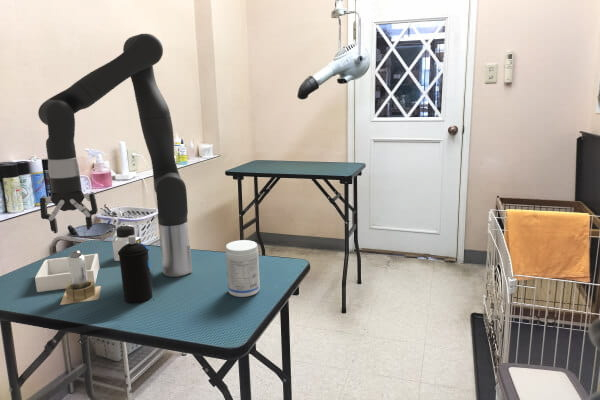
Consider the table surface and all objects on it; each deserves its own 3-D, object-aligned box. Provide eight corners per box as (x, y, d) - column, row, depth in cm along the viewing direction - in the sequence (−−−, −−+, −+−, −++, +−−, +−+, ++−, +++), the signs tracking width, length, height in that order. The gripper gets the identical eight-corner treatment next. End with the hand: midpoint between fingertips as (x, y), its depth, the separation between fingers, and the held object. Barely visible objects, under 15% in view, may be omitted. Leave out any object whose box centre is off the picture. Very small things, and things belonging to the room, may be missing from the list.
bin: (99, 270, 163) (97, 253, 161) (95, 288, 148) (93, 270, 147) (47, 276, 158) (45, 259, 157) (37, 296, 143) (34, 277, 142)
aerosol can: (137, 311, 132) (129, 242, 128) (117, 305, 137) (109, 238, 132) (160, 300, 139) (153, 234, 134) (141, 294, 143) (133, 230, 139)
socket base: (101, 290, 147) (100, 276, 146) (99, 304, 137) (97, 289, 136) (66, 295, 144) (64, 281, 143) (60, 309, 135) (58, 294, 134)
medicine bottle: (132, 262, 170) (128, 229, 167) (114, 261, 171) (110, 229, 168) (142, 255, 176) (139, 223, 174) (125, 254, 178) (121, 223, 175)
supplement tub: (230, 284, 149) (227, 239, 145) (261, 284, 148) (259, 239, 145) (225, 298, 139) (222, 250, 136) (258, 298, 139) (256, 250, 135)
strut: (90, 290, 143) (84, 246, 140) (89, 296, 139) (83, 251, 136) (74, 292, 142) (67, 248, 138) (71, 299, 138) (65, 253, 134)
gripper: (93, 170, 137) (100, 224, 141) (38, 174, 133) (47, 229, 137) (91, 174, 130) (98, 231, 134) (32, 178, 126) (41, 237, 130)
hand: (72, 230), depth 136 cm, fingers open, 8 cm apart
